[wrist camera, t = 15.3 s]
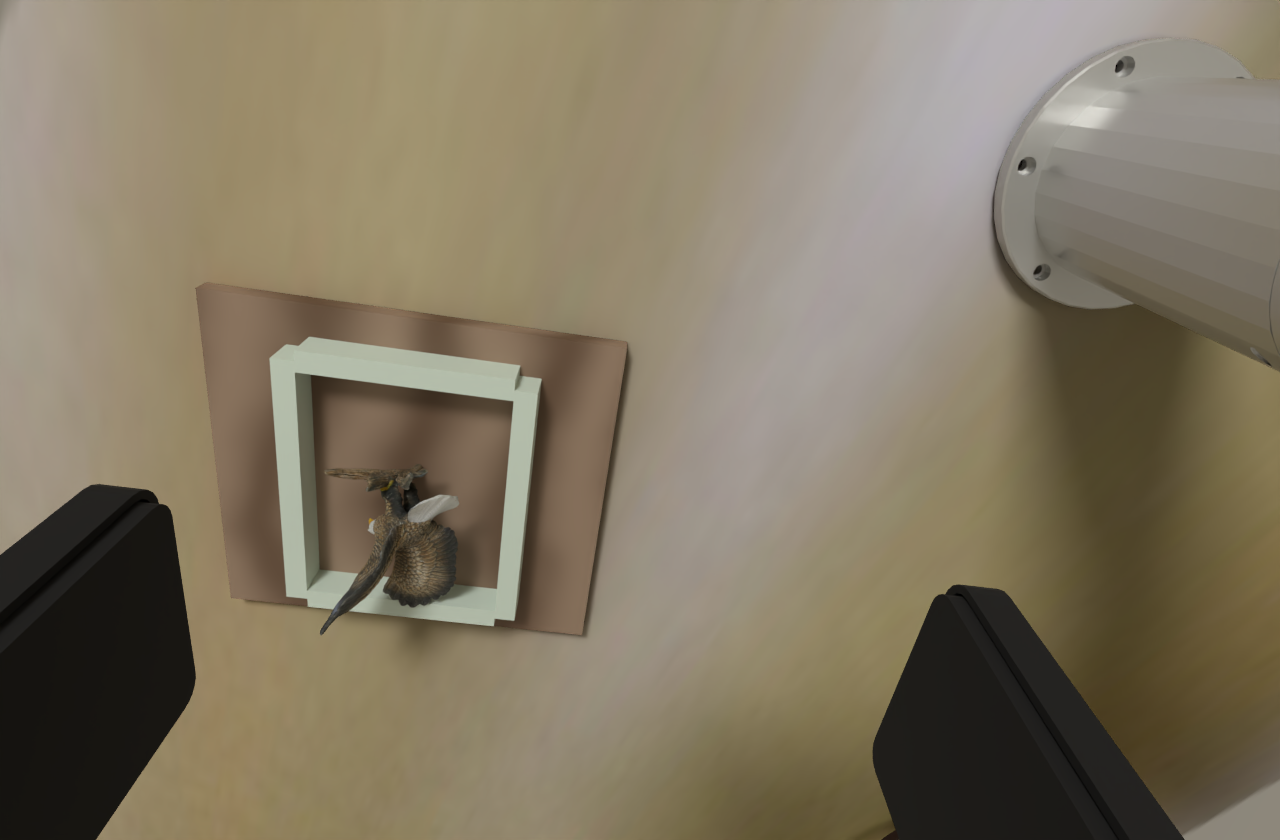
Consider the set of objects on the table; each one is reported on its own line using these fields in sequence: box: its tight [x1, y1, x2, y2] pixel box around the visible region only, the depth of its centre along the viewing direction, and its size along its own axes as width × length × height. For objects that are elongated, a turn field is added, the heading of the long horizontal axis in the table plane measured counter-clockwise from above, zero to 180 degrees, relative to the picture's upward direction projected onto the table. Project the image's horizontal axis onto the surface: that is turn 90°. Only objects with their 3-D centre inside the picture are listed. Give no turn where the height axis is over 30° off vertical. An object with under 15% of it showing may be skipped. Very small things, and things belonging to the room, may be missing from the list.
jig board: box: [196, 283, 627, 635], centre depth 42 cm, size 22×20×3 cm
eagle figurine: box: [320, 464, 459, 635], centre depth 39 cm, size 8×7×9 cm
